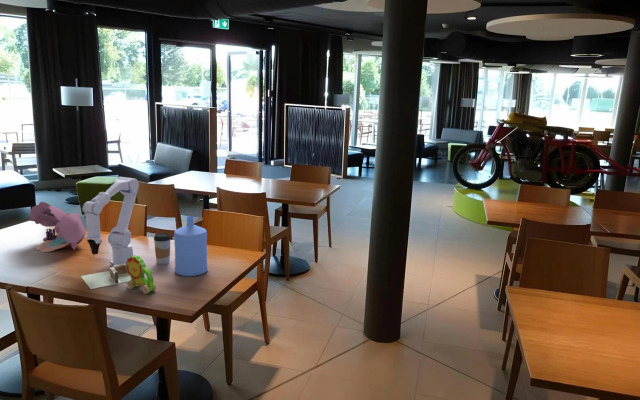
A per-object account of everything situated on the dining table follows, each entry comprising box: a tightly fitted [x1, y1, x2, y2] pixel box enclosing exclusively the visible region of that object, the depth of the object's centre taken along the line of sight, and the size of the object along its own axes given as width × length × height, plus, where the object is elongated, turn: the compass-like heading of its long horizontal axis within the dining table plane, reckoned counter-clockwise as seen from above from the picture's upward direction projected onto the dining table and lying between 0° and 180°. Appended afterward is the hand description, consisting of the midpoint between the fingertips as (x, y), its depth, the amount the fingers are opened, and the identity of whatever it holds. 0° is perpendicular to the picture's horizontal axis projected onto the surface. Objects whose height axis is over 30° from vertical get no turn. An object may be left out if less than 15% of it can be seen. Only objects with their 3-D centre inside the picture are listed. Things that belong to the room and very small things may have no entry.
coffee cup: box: [153, 232, 172, 265], centre depth 250 cm, size 8×8×15 cm
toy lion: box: [126, 254, 157, 295], centre depth 217 cm, size 16×6×15 cm, turn 58°
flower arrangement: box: [29, 201, 87, 253], centre depth 266 cm, size 35×24×28 cm
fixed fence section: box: [109, 263, 128, 276], centre depth 234 cm, size 12×2×5 cm, turn 129°
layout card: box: [80, 270, 131, 290], centre depth 230 cm, size 24×18×1 cm
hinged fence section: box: [109, 266, 118, 283], centre depth 226 cm, size 10×2×5 cm, turn 35°
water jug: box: [173, 215, 208, 277], centre depth 239 cm, size 16×16×28 cm
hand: (95, 254), depth 231 cm, fingers closed
